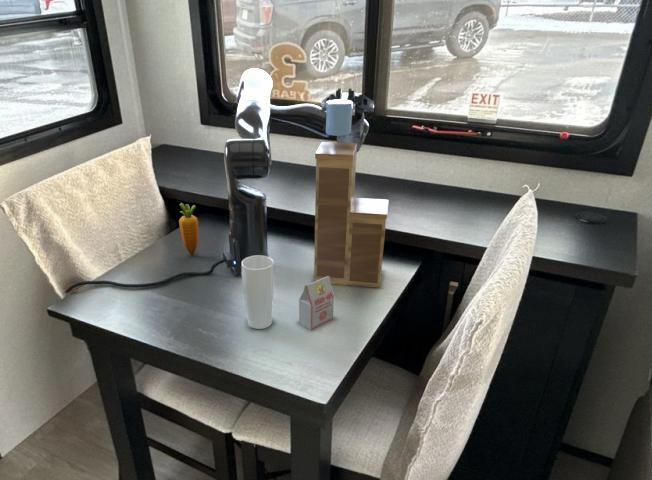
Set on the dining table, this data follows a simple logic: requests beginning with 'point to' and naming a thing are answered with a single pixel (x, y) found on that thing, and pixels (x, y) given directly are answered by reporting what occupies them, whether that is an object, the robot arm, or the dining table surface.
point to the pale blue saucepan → (339, 116)
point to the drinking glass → (258, 290)
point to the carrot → (189, 229)
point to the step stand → (346, 221)
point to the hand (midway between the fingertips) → (344, 92)
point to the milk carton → (316, 303)
